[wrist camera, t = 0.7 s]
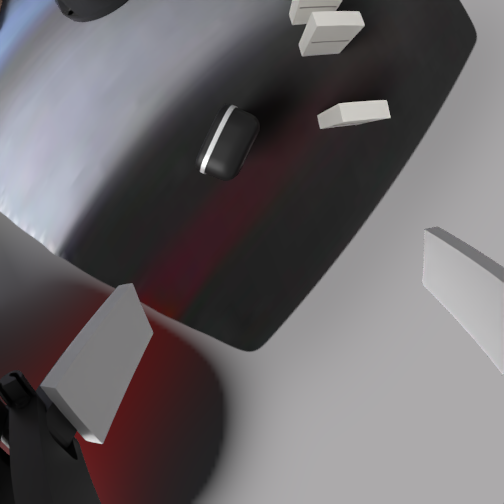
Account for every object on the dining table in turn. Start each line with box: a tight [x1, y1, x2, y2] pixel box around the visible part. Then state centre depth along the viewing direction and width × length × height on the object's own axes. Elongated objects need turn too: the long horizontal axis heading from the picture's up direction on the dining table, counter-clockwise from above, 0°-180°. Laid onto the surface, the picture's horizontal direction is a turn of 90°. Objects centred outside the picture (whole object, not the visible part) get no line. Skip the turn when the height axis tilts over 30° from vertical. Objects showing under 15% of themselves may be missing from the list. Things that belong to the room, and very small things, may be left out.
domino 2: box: [299, 11, 365, 57], centre depth 24 cm, size 2×5×10 cm, turn 102°
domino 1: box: [289, 0, 342, 25], centre depth 22 cm, size 2×5×10 cm, turn 103°
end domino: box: [317, 100, 391, 129], centre depth 27 cm, size 2×5×10 cm, turn 102°
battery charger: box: [195, 104, 260, 181], centre depth 28 cm, size 7×4×11 cm, turn 155°
